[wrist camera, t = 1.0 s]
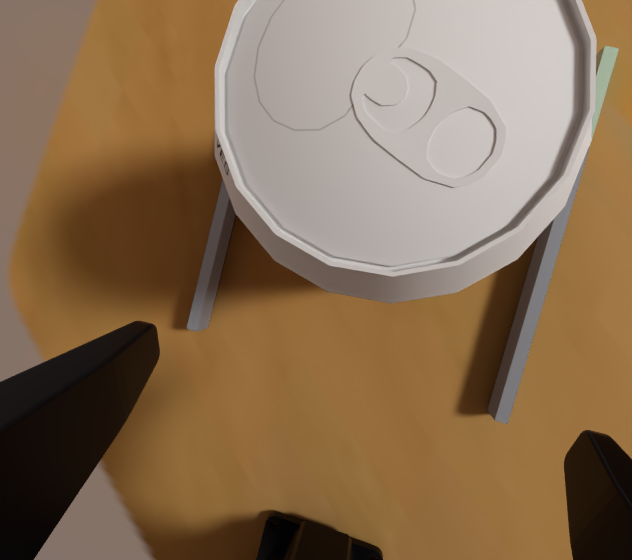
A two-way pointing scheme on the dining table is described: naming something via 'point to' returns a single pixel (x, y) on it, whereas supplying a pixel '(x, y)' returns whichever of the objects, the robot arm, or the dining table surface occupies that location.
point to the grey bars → (530, 294)
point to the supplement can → (402, 134)
